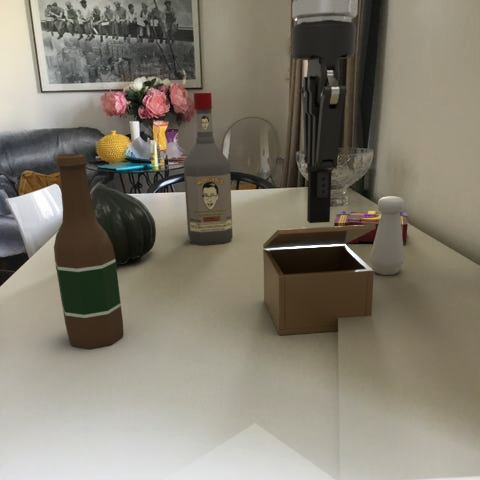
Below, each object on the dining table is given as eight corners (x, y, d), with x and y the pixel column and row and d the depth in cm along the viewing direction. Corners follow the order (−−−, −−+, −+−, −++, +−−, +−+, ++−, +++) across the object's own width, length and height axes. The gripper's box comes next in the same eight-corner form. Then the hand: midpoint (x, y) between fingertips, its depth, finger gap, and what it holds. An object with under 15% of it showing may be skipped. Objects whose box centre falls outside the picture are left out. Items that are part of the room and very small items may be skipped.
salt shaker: (387, 278, 96) (393, 202, 91) (362, 271, 100) (366, 197, 95) (410, 271, 99) (416, 197, 94) (384, 264, 104) (389, 193, 99)
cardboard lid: (375, 228, 72) (375, 224, 72) (278, 234, 71) (277, 229, 71) (345, 243, 86) (345, 239, 86) (263, 248, 85) (263, 244, 85)
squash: (179, 231, 109) (140, 168, 111) (114, 251, 99) (72, 182, 101) (151, 268, 119) (115, 210, 121) (90, 289, 110) (52, 226, 112)
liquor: (187, 236, 128) (178, 93, 116) (227, 233, 129) (221, 92, 118) (191, 246, 120) (181, 93, 108) (234, 243, 121) (229, 92, 110)
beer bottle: (119, 348, 73) (95, 157, 64) (59, 350, 73) (26, 160, 64) (129, 325, 80) (109, 150, 71) (75, 327, 81) (48, 152, 71)
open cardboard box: (370, 328, 77) (374, 270, 74) (279, 335, 76) (278, 276, 73) (342, 295, 89) (345, 244, 86) (264, 300, 88) (263, 248, 85)
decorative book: (406, 245, 115) (408, 221, 113) (327, 243, 119) (327, 219, 117) (405, 232, 125) (407, 209, 123) (332, 230, 129) (332, 208, 127)
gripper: (282, 28, 72) (281, 212, 81) (304, 16, 60) (300, 234, 69) (339, 27, 73) (333, 210, 82) (372, 15, 61) (360, 231, 70)
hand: (318, 221), depth 75 cm, fingers closed
